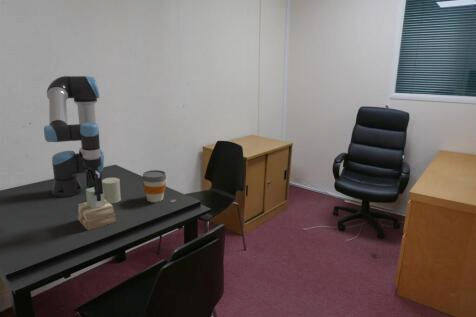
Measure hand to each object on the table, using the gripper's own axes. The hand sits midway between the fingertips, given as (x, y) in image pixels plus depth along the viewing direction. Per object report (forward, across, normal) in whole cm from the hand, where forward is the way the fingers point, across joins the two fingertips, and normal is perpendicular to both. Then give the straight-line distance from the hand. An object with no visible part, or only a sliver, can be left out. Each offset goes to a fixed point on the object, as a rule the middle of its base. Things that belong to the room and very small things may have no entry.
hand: (95, 204), depth 163 cm
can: (+9, -20, +16) cm, 27 cm away
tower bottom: (+9, 0, 0) cm, 9 cm away
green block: (0, 0, 0) cm, 0 cm away
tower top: (+5, 0, 0) cm, 5 cm away
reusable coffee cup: (+9, -7, +35) cm, 37 cm away
